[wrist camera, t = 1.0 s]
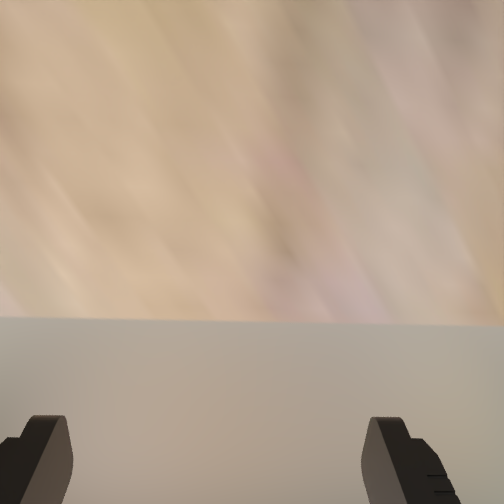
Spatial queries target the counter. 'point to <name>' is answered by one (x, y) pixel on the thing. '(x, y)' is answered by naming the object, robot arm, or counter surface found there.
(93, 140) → the counter surface
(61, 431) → the robot arm
